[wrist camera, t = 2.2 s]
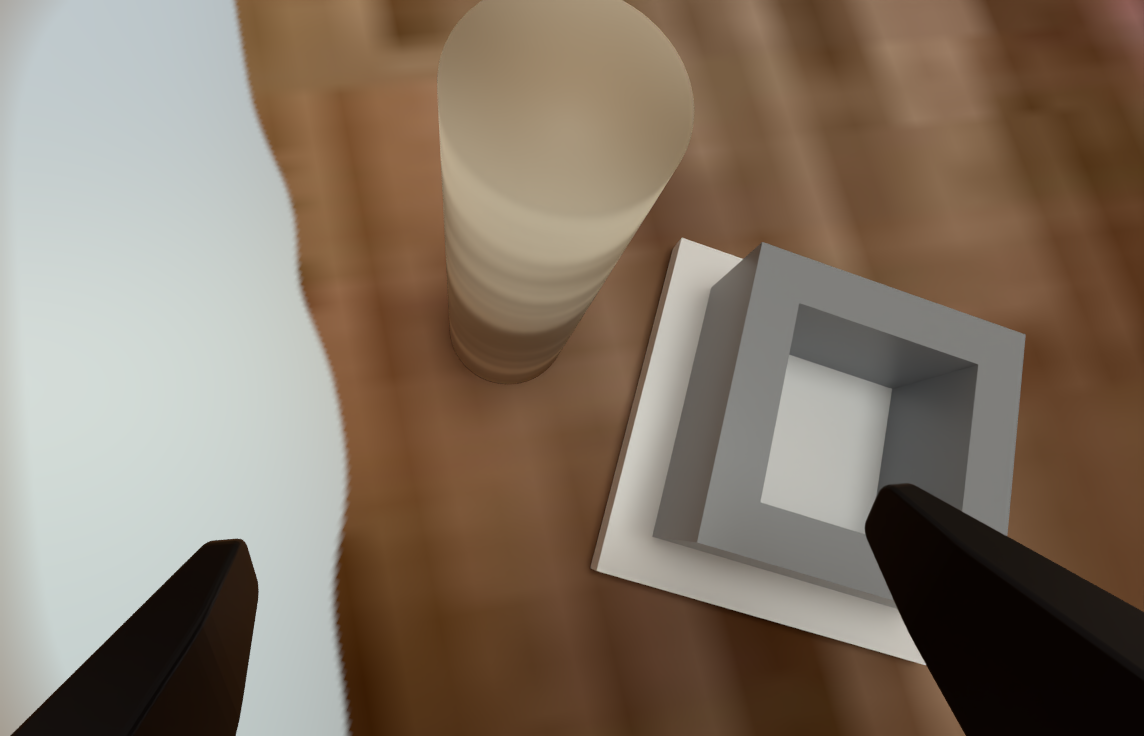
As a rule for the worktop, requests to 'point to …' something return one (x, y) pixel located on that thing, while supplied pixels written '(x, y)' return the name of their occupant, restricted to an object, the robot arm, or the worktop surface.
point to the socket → (801, 437)
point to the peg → (548, 166)
